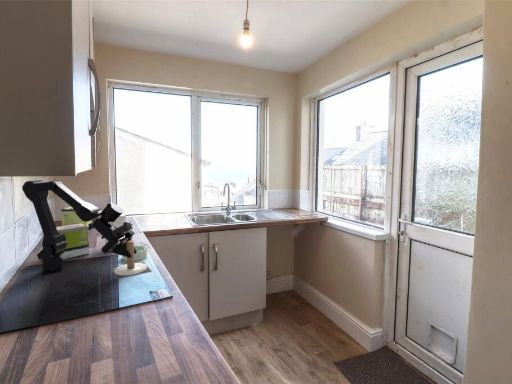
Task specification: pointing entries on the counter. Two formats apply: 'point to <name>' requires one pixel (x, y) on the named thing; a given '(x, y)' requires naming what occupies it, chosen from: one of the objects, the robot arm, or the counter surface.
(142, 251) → the bowl
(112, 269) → the mat
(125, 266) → the peg on round base
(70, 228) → the tea box
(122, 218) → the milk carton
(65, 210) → the protein box
